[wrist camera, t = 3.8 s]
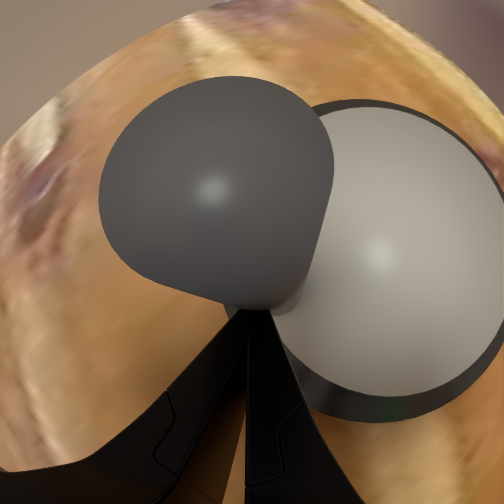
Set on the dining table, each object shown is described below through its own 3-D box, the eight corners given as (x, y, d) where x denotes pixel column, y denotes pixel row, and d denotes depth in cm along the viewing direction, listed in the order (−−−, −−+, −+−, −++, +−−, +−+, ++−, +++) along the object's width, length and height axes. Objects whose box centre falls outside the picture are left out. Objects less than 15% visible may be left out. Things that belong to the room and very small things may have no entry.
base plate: (541, 244, 14) (555, 237, 13) (380, 475, 13) (388, 489, 11) (359, 71, 20) (361, 55, 18) (154, 244, 19) (140, 235, 17)
